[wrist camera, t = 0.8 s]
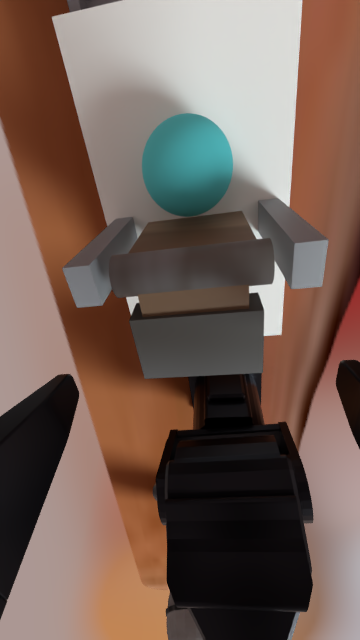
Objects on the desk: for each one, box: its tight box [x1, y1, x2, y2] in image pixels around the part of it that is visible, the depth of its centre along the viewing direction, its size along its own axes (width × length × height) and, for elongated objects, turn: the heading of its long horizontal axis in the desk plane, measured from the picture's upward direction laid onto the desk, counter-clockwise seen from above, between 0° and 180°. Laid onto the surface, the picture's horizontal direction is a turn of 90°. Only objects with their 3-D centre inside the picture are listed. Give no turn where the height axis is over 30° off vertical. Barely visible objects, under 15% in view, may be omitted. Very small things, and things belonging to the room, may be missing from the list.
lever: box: [109, 211, 275, 379], centre depth 14 cm, size 5×6×7 cm
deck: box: [52, 0, 328, 336], centre depth 14 cm, size 17×10×11 cm, turn 8°
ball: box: [142, 113, 233, 217], centre depth 13 cm, size 4×4×4 cm
